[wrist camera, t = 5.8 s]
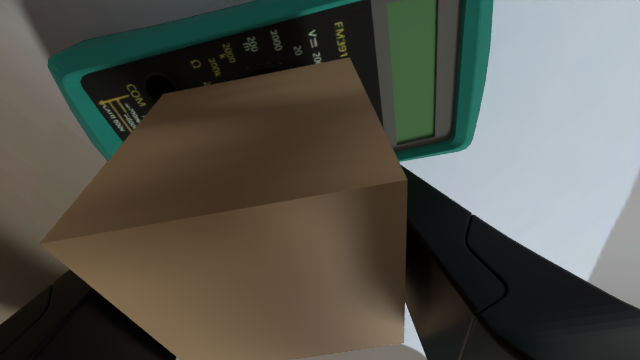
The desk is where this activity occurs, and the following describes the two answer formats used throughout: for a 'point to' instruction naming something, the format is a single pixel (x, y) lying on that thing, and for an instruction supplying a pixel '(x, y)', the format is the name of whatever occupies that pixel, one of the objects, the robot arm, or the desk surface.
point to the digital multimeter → (296, 64)
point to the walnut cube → (250, 220)
